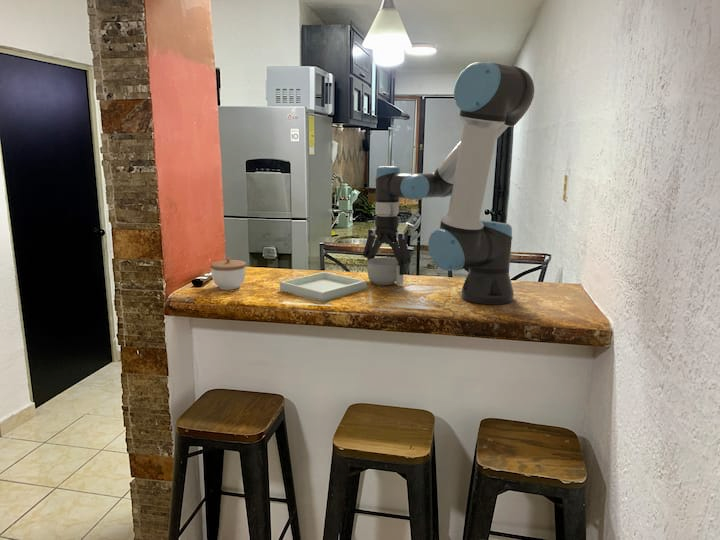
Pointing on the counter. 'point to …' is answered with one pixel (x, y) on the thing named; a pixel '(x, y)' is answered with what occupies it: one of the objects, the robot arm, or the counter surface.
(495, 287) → the robot arm
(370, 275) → the teacup
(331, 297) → the tray
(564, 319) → the counter surface
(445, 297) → the counter surface
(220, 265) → the lidded jar
